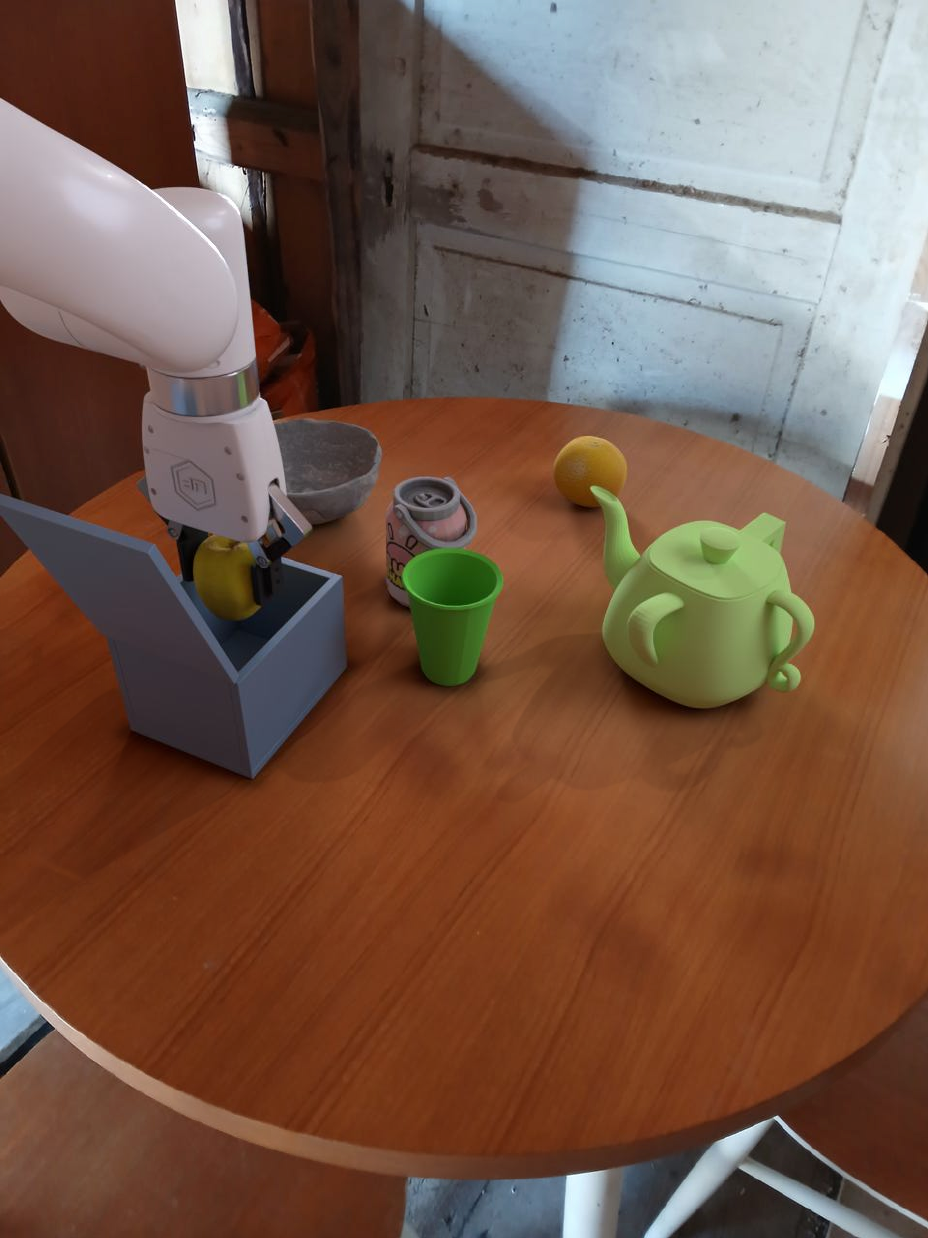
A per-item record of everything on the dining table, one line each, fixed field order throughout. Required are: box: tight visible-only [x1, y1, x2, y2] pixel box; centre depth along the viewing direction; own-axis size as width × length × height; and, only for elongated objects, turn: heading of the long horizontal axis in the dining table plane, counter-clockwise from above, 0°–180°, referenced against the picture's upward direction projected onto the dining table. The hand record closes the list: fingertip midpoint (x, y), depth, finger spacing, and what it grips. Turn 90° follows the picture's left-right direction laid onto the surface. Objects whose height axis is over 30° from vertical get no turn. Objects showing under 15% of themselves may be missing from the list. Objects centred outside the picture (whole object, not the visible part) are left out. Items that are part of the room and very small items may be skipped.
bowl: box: [274, 418, 383, 525], centre depth 105 cm, size 18×18×8 cm
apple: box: [193, 534, 261, 621], centre depth 75 cm, size 6×6×8 cm
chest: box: [105, 556, 348, 780], centre depth 79 cm, size 16×13×11 cm
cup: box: [401, 548, 505, 687], centre depth 83 cm, size 9×9×11 cm
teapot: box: [590, 486, 815, 709], centre depth 85 cm, size 19×20×14 cm
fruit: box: [552, 435, 628, 508], centre depth 109 cm, size 9×8×8 cm
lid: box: [0, 493, 239, 684], centre depth 63 cm, size 16×13×1 cm
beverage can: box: [385, 476, 478, 609], centre depth 92 cm, size 9×8×12 cm
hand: (233, 583), depth 75 cm, fingers closed on apple, 6 cm apart
